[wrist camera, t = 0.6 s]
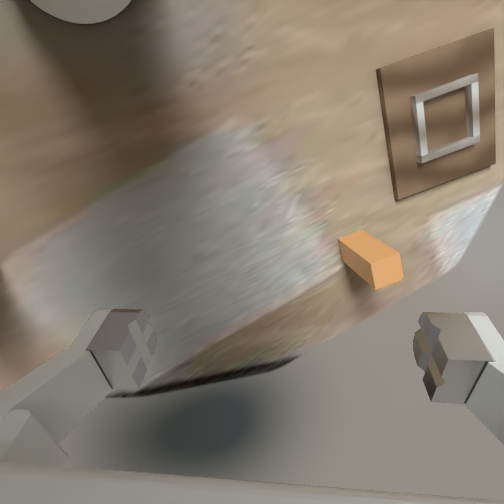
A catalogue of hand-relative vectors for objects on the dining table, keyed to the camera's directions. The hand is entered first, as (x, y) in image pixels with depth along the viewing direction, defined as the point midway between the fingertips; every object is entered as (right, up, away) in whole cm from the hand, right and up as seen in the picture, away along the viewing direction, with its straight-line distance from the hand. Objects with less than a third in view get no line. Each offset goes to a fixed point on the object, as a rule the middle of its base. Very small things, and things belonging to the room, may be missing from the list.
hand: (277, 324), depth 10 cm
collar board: (+26, +21, +36) cm, 49 cm away
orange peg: (+15, +3, +41) cm, 44 cm away
